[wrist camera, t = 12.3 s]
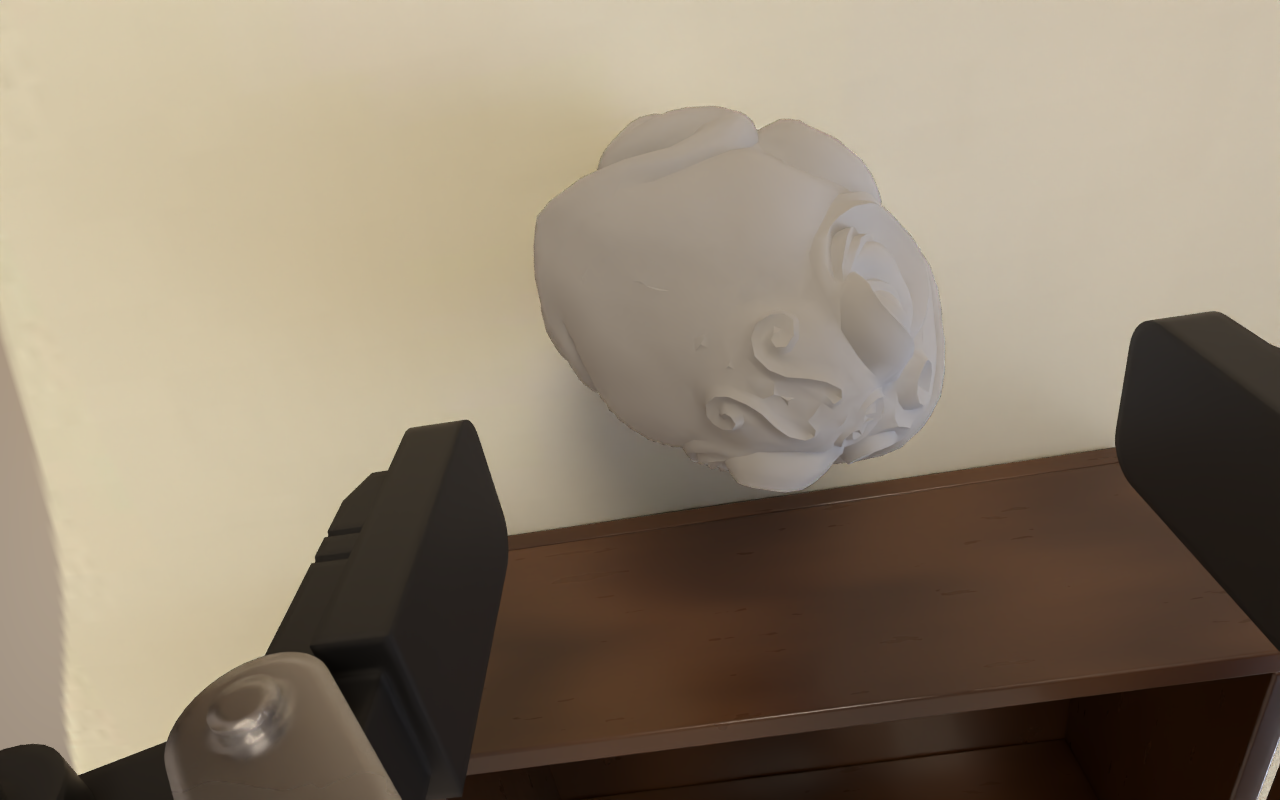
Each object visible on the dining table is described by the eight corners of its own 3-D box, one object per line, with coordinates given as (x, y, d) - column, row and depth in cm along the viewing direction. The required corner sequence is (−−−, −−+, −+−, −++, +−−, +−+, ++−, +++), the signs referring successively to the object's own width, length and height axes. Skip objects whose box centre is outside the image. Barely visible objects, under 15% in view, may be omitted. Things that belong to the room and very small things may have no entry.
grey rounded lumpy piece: (771, 399, 19) (842, 612, 13) (499, 280, 18) (437, 461, 12) (924, 171, 17) (1100, 306, 11) (620, 3, 15) (622, 52, 9)
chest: (549, 796, 27) (530, 1029, 21) (456, 542, 21) (398, 765, 16) (1071, 731, 26) (1200, 957, 20) (1119, 445, 20) (1316, 647, 14)
